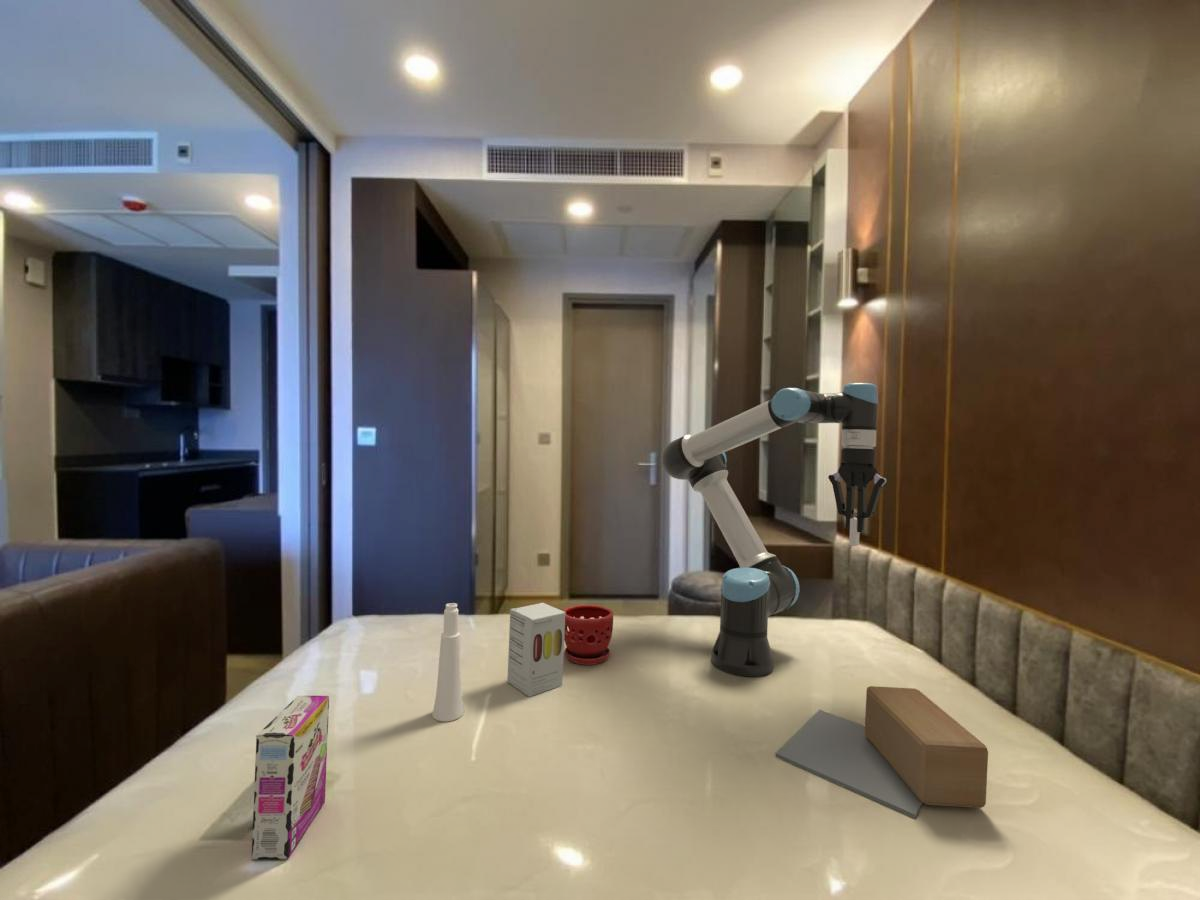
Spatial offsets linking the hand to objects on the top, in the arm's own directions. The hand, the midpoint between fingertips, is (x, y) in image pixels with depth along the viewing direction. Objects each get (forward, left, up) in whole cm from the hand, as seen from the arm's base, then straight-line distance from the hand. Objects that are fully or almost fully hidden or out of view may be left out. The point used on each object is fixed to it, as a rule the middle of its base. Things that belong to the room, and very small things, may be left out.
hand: (854, 544), depth 127 cm
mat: (+12, -34, -32) cm, 48 cm away
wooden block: (+14, -23, -27) cm, 38 cm away
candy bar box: (-40, -110, -33) cm, 122 cm away
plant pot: (-52, -38, -33) cm, 72 cm away
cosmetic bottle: (-52, -78, -33) cm, 99 cm away
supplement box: (-50, -57, -33) cm, 83 cm away
